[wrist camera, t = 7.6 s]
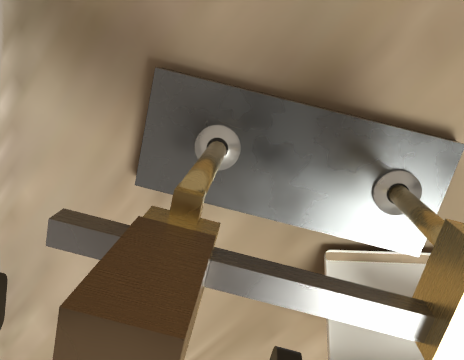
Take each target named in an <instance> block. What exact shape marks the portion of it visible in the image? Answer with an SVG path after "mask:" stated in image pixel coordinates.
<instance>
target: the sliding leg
mask: <svg viewBox="0 0 464 360" xmlns="http://www.w3.org/2000/svg"><path fill="white" fill-rule="evenodd" d="M225 155H226V147H225V145H224V144H223V143H222V142H219V141H214V142H212V143H211V144H210V145H209V146H208V147H207V148H206V150H205V151H204V152H203V154H202V155H201V156H200V158H199V159H198V160H197V162H196V163H195V164H194V166H193V167H192V168H191V170H190V171H189V172H188V173H187V175H186V176H185V177H184V179H183V180H182V181H181V183H179V184H178V185H177V187H176V188H175V189H174V193H173V198H172V203H171V208H170V210H167V209H163V208H159V207H155V206H151V208H150V209H149V210H148V211H147V212H146V214H145V215H144V216H143V217H140V216H138V217H137V219H136V220H135V221H134V222H133V223H132V224H131V225H130V227H129V228H128V229H127V230H126V231H125V232H124V234H123V235H122V236H121V237H120V238H119V239H118V240H117V242H116V243H115V244H114V245H113V246H112V247H111V248H110V250H109V251H108V252H107V253H106V254H105V255H104V256H103V258H102V259H101V260H100V261H99V262H98V263H97V264H96V266H95V267H94V268H93V269H92V270H91V271H90V273H89V274H88V275H87V276H86V277H85V278H84V279H83V281H82V282H81V283H80V284H79V285H78V286H77V287H76V289H75V290H74V291H73V292H72V293H71V294H70V295H69V297H68V298H67V299H66V300H65V301H64V302H63V303H62V305H61V306H60V307H59V315H58V323H57V330H56V338H55V346H54V354H53V360H184V358H185V355H186V351H187V348H188V344H189V341H190V337H191V334H192V330H193V327H194V323H195V320H196V316H197V312H198V308H199V305H200V301H201V298H202V294H203V291H204V284H205V279H206V275H207V271H208V267H209V263H210V259H211V255H212V252H213V249H214V245H215V242H216V239H217V235H218V231H219V227H220V223H218V222H214V221H210V220H206V219H202V218H201V214H202V209H203V205H204V200H205V196H206V194H207V192H208V190H209V187H210V185H211V183H212V181H213V179H214V177H215V175H216V173H217V171H218V169H219V167H220V165H221V163H222V161H223V159H224V157H225Z"/></svg>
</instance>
